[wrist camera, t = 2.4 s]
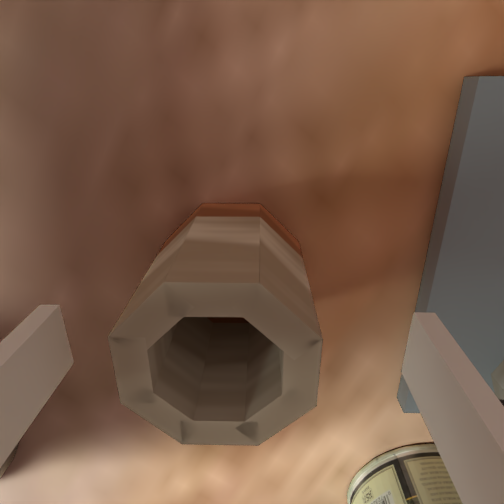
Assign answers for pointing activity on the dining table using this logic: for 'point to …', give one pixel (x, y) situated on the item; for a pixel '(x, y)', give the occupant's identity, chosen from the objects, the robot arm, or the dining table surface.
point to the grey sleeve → (498, 381)
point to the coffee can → (404, 479)
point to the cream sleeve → (221, 331)
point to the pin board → (469, 234)
